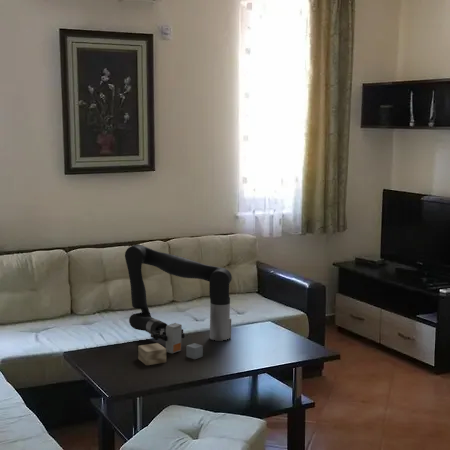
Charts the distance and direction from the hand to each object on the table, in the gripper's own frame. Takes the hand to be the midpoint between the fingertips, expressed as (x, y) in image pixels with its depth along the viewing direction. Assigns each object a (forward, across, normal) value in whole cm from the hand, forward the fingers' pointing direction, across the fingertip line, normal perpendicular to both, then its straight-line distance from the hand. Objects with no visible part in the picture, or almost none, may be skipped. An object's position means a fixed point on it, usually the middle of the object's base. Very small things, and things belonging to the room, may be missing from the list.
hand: (175, 337), depth 303 cm
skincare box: (-1, 0, +7) cm, 7 cm away
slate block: (+10, +4, +7) cm, 12 cm away
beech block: (+5, -14, +7) cm, 16 cm away
